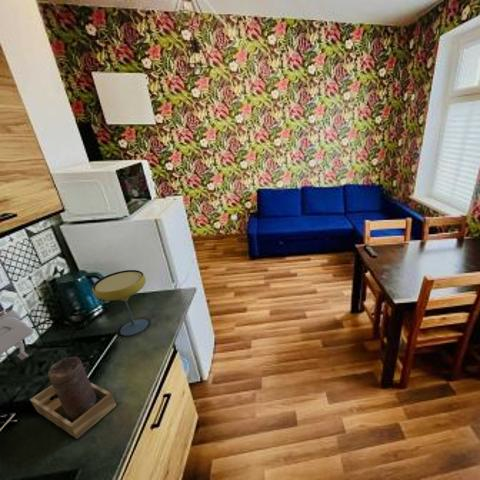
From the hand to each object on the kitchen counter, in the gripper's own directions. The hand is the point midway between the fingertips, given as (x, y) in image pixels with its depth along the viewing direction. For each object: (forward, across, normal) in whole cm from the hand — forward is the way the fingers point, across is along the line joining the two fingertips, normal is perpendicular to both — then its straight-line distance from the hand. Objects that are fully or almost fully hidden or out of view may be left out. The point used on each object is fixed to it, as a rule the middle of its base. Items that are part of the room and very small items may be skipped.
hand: (3, 373), depth 70 cm
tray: (+24, -3, -8) cm, 26 cm away
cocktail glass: (+22, -35, -31) cm, 52 cm away
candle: (+26, -4, -4) cm, 26 cm away
